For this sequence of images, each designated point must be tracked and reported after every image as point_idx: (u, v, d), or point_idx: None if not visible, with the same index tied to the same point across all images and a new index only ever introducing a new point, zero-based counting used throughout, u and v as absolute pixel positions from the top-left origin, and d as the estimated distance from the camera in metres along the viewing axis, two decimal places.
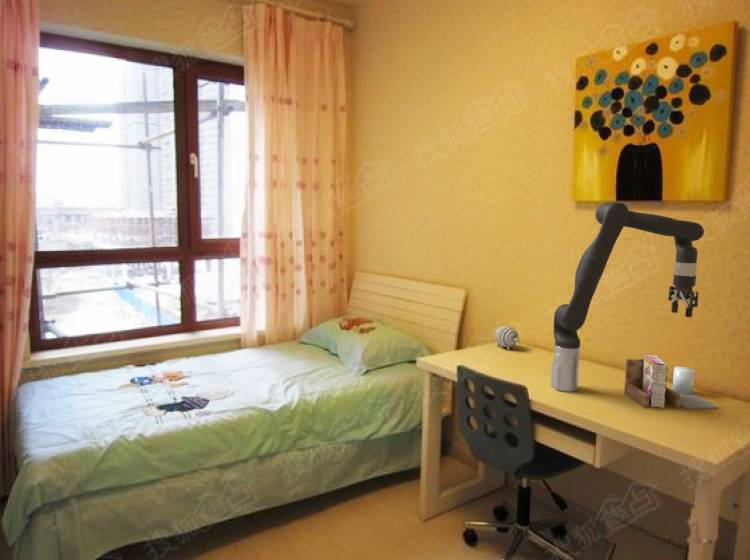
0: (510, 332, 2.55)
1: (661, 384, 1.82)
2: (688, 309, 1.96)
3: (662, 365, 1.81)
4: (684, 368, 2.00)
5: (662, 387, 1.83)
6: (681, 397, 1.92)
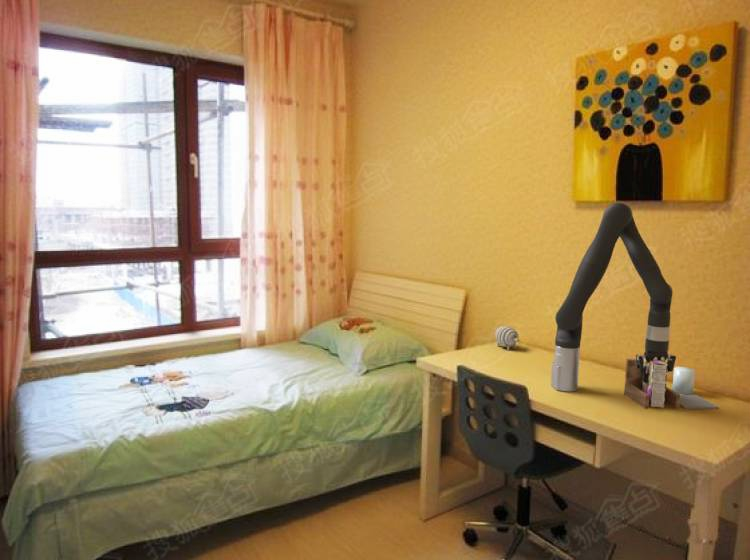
0: (510, 332, 2.55)
1: (661, 384, 1.82)
2: None
3: (662, 365, 1.81)
4: (684, 368, 2.00)
5: (662, 387, 1.83)
6: (681, 397, 1.92)
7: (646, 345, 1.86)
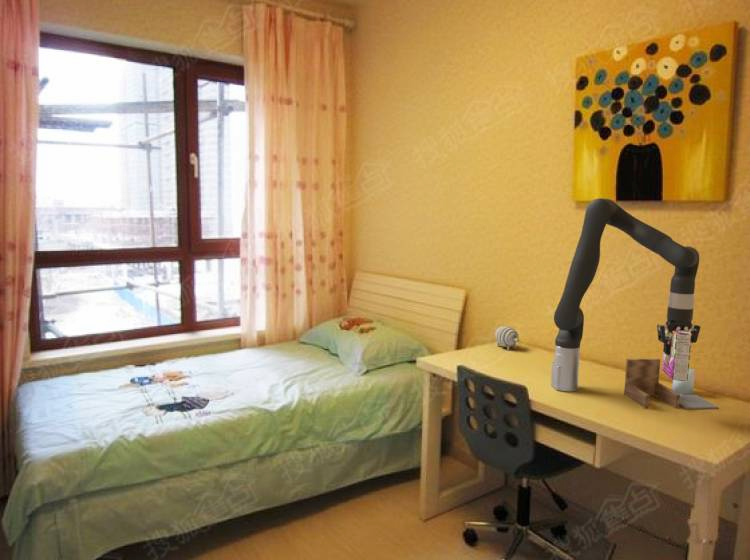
0: (510, 332, 2.55)
1: (685, 355, 1.70)
2: None
3: (686, 335, 1.69)
4: None
5: (686, 359, 1.70)
6: (681, 397, 1.92)
7: (668, 314, 1.74)
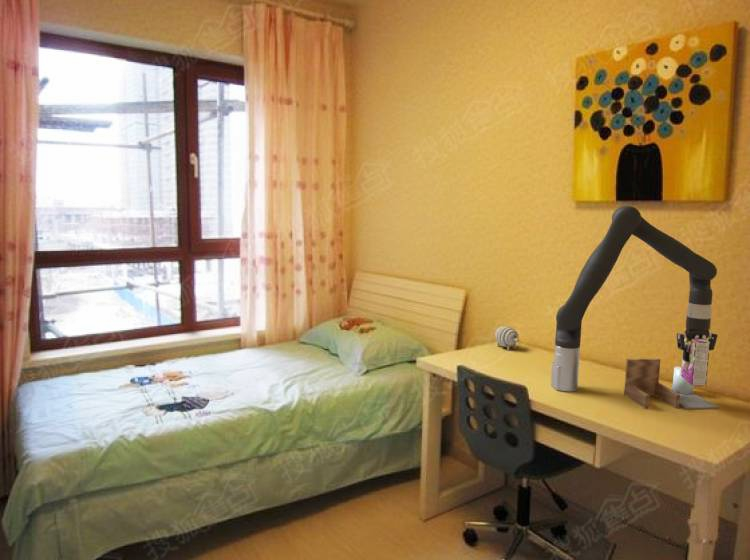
0: (510, 332, 2.55)
1: (704, 362, 1.81)
2: None
3: (705, 343, 1.80)
4: None
5: (704, 365, 1.81)
6: (681, 397, 1.92)
7: (687, 323, 1.85)
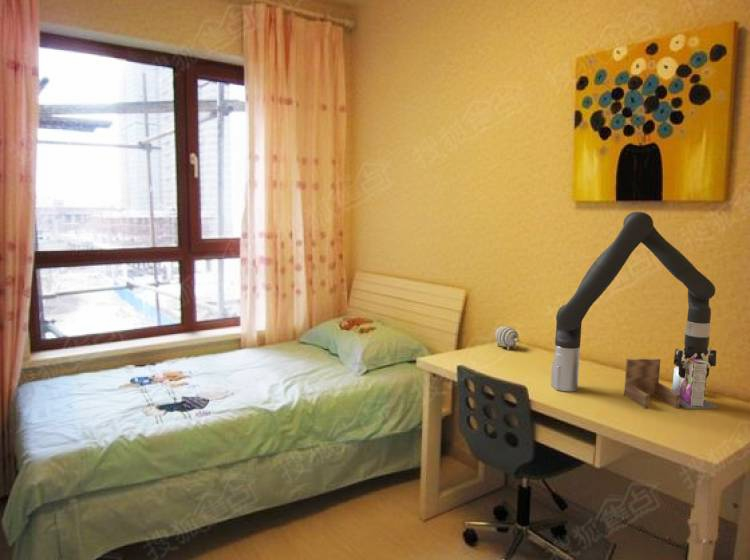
0: (510, 332, 2.55)
1: (701, 383, 1.82)
2: (708, 369, 1.87)
3: (703, 364, 1.81)
4: None
5: (702, 386, 1.82)
6: None
7: (686, 341, 1.86)
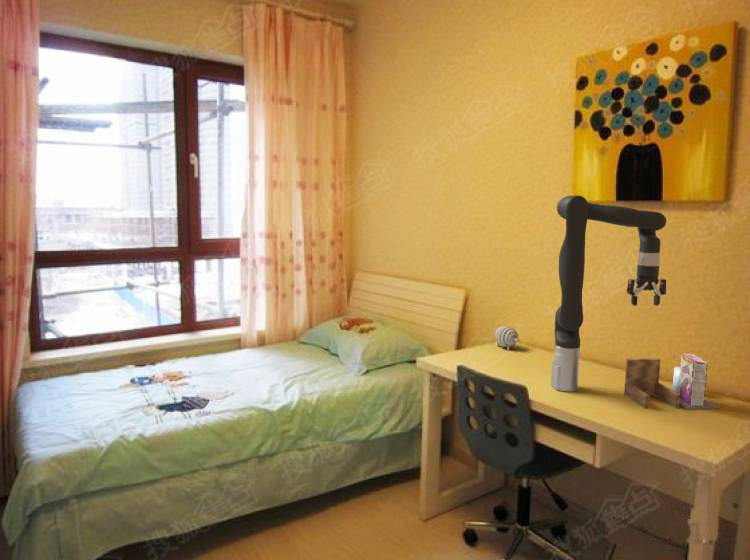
0: (510, 332, 2.55)
1: (701, 383, 1.82)
2: (659, 297, 2.00)
3: (703, 364, 1.81)
4: None
5: (702, 386, 1.82)
6: None
7: (638, 271, 1.99)
